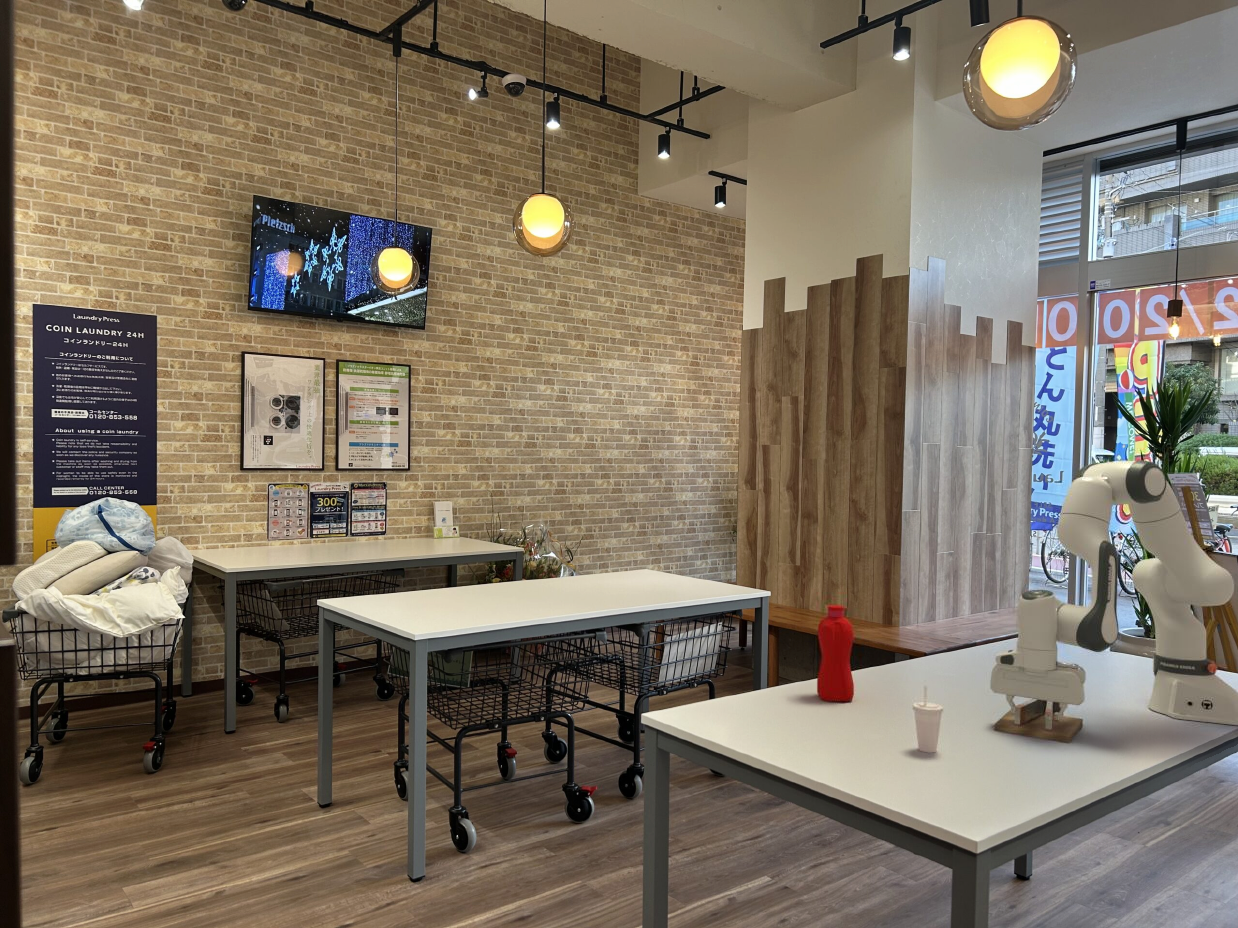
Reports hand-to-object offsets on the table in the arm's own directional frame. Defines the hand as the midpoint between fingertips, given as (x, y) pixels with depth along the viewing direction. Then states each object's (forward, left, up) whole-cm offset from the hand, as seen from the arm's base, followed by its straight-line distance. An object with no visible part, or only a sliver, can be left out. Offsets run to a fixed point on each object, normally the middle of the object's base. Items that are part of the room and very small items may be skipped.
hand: (1036, 717), depth 209 cm
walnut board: (0, -3, -3) cm, 4 cm away
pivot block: (0, -14, -3) cm, 15 cm away
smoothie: (+16, +31, -3) cm, 35 cm away
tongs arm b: (+2, -4, -1) cm, 4 cm away
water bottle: (+50, +1, -3) cm, 50 cm away
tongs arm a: (-2, -4, -1) cm, 5 cm away
